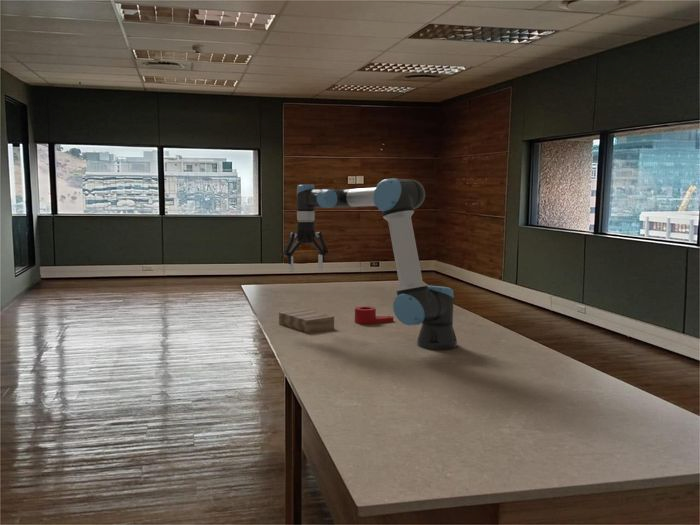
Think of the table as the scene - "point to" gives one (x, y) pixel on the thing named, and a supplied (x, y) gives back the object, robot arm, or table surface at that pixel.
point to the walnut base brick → (306, 320)
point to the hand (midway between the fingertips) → (306, 270)
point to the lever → (370, 316)
